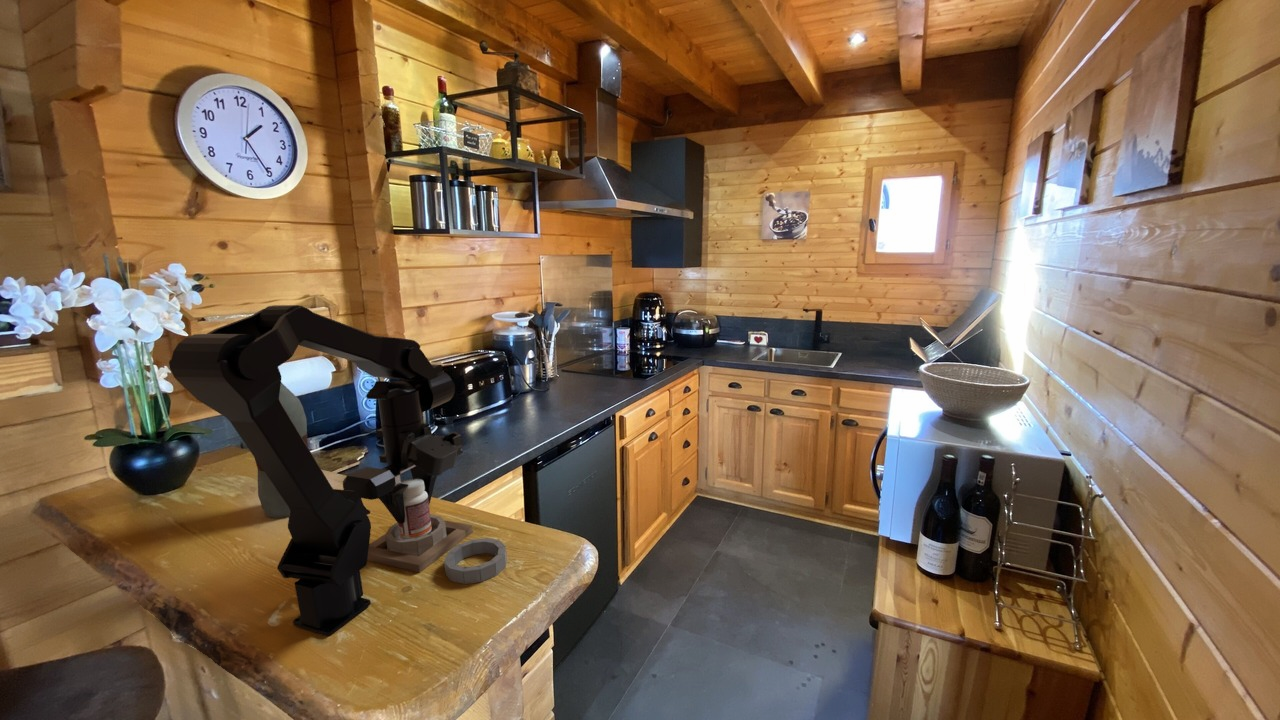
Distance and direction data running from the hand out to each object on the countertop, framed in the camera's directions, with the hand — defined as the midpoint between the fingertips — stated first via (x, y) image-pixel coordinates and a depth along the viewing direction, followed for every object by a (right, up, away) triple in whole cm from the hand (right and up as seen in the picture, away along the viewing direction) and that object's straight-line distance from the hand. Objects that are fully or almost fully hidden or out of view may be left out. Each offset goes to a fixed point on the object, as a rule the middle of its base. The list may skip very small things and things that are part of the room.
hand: (413, 515), depth 83 cm
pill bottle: (0, -3, +1) cm, 3 cm away
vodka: (-30, -3, +16) cm, 34 cm away
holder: (+12, -6, -5) cm, 14 cm away
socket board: (0, -5, +1) cm, 5 cm away
